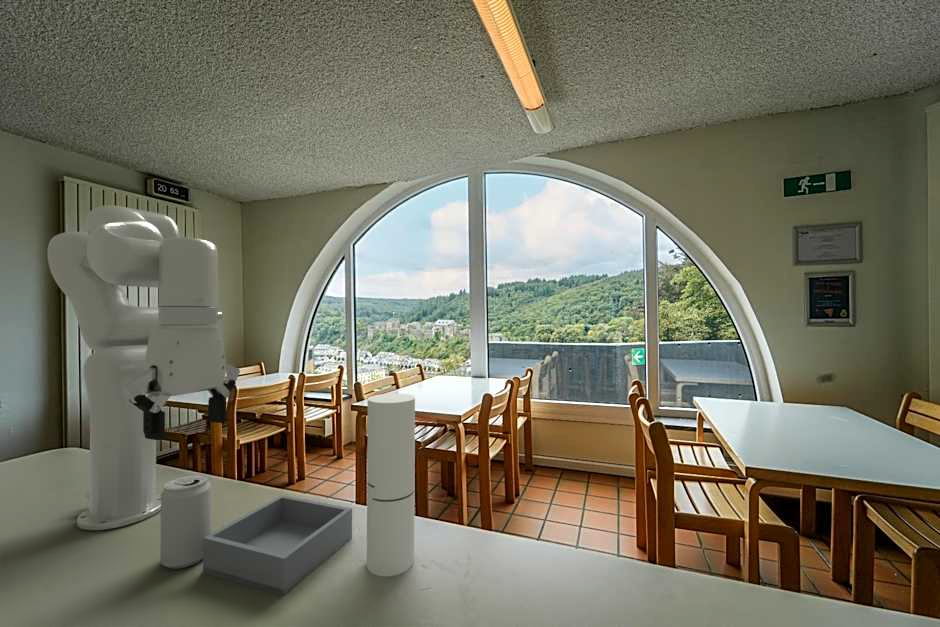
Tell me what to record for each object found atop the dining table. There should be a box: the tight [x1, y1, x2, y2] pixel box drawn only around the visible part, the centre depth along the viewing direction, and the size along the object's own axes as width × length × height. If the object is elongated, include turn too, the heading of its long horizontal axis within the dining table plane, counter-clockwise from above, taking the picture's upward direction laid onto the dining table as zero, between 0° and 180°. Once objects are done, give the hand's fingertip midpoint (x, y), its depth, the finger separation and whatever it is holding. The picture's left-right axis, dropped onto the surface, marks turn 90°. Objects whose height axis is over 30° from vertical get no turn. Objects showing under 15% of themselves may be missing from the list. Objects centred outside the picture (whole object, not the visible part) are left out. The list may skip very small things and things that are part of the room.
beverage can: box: [159, 474, 212, 570], centre depth 62 cm, size 6×6×12 cm
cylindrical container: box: [366, 393, 416, 578], centre depth 62 cm, size 7×7×25 cm
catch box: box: [202, 494, 353, 597], centre depth 63 cm, size 15×15×5 cm
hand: (188, 429), depth 62 cm, fingers open, 9 cm apart
